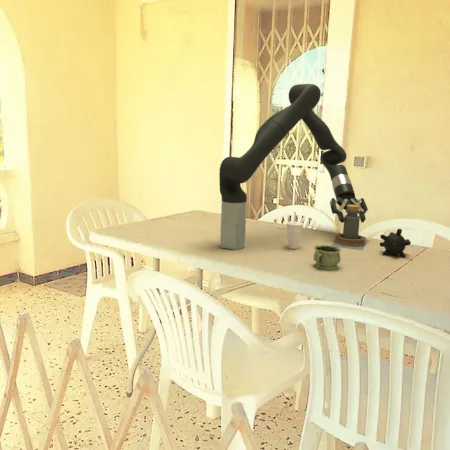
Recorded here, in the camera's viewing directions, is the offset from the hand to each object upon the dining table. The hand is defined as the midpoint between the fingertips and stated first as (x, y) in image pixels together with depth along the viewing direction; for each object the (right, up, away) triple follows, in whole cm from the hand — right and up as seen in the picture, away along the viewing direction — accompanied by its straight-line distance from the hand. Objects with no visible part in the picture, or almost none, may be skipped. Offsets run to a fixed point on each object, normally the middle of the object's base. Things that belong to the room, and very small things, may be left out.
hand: (353, 221), depth 184 cm
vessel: (-16, -15, -28) cm, 36 cm away
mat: (-1, -9, +3) cm, 9 cm away
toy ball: (+11, -13, -12) cm, 21 cm away
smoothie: (-24, -10, -6) cm, 27 cm away
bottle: (-1, -9, +3) cm, 9 cm away
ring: (-1, -9, +3) cm, 9 cm away
